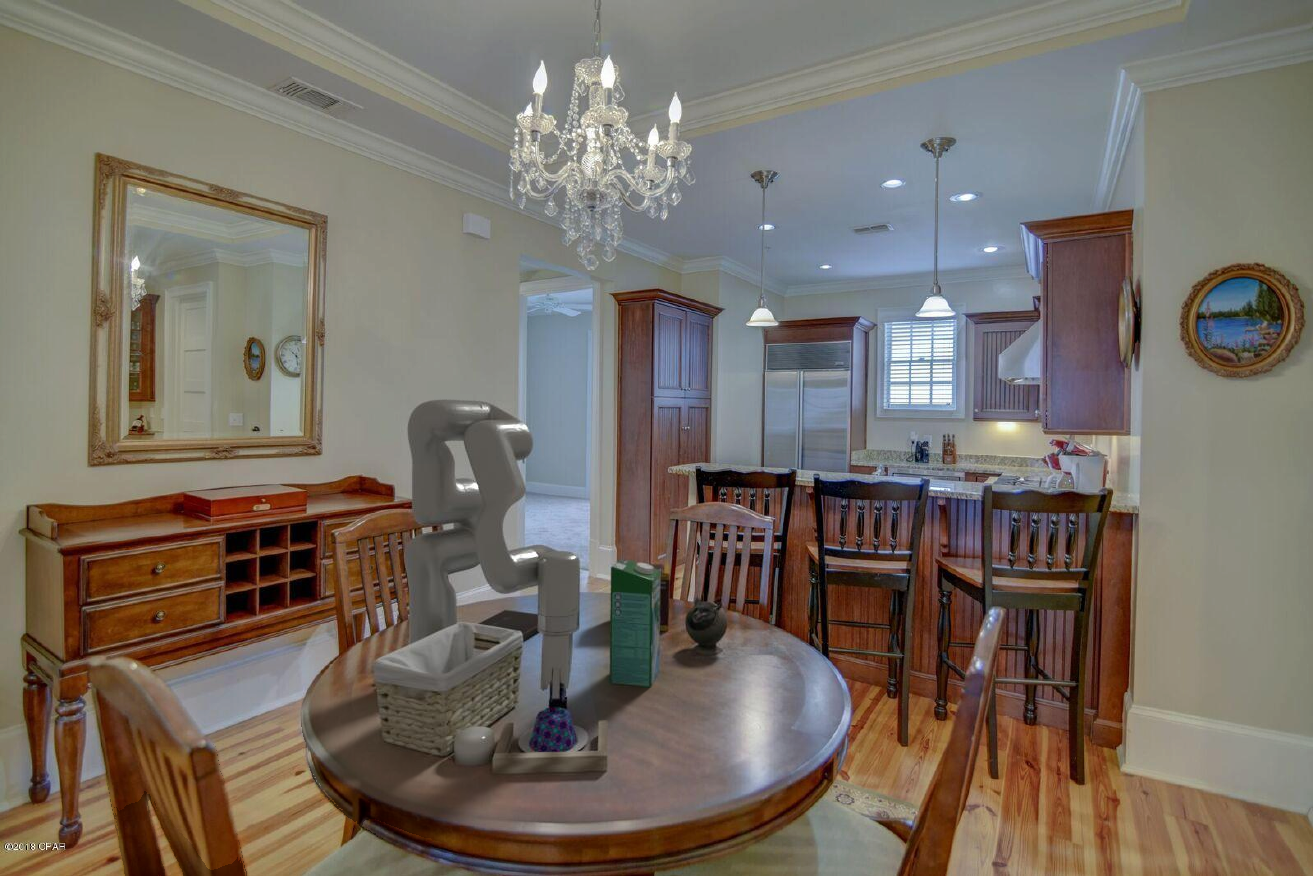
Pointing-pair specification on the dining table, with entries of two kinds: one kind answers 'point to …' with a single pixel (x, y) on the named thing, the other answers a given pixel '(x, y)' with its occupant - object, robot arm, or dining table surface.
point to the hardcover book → (511, 625)
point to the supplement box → (664, 595)
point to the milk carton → (634, 623)
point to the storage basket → (447, 685)
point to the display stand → (548, 757)
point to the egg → (474, 746)
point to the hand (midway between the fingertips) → (557, 720)
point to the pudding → (553, 733)
